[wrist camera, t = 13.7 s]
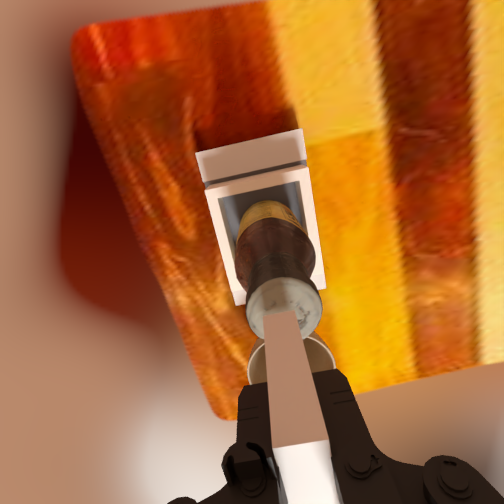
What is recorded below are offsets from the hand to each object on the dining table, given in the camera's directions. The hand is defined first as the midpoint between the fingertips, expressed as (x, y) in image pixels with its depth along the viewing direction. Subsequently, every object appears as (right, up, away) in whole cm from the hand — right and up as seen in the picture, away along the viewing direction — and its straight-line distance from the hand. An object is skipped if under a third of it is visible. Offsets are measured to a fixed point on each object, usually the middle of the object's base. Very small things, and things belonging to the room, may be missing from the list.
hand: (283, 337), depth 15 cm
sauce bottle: (0, +7, +20) cm, 22 cm away
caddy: (0, +8, +22) cm, 23 cm away
